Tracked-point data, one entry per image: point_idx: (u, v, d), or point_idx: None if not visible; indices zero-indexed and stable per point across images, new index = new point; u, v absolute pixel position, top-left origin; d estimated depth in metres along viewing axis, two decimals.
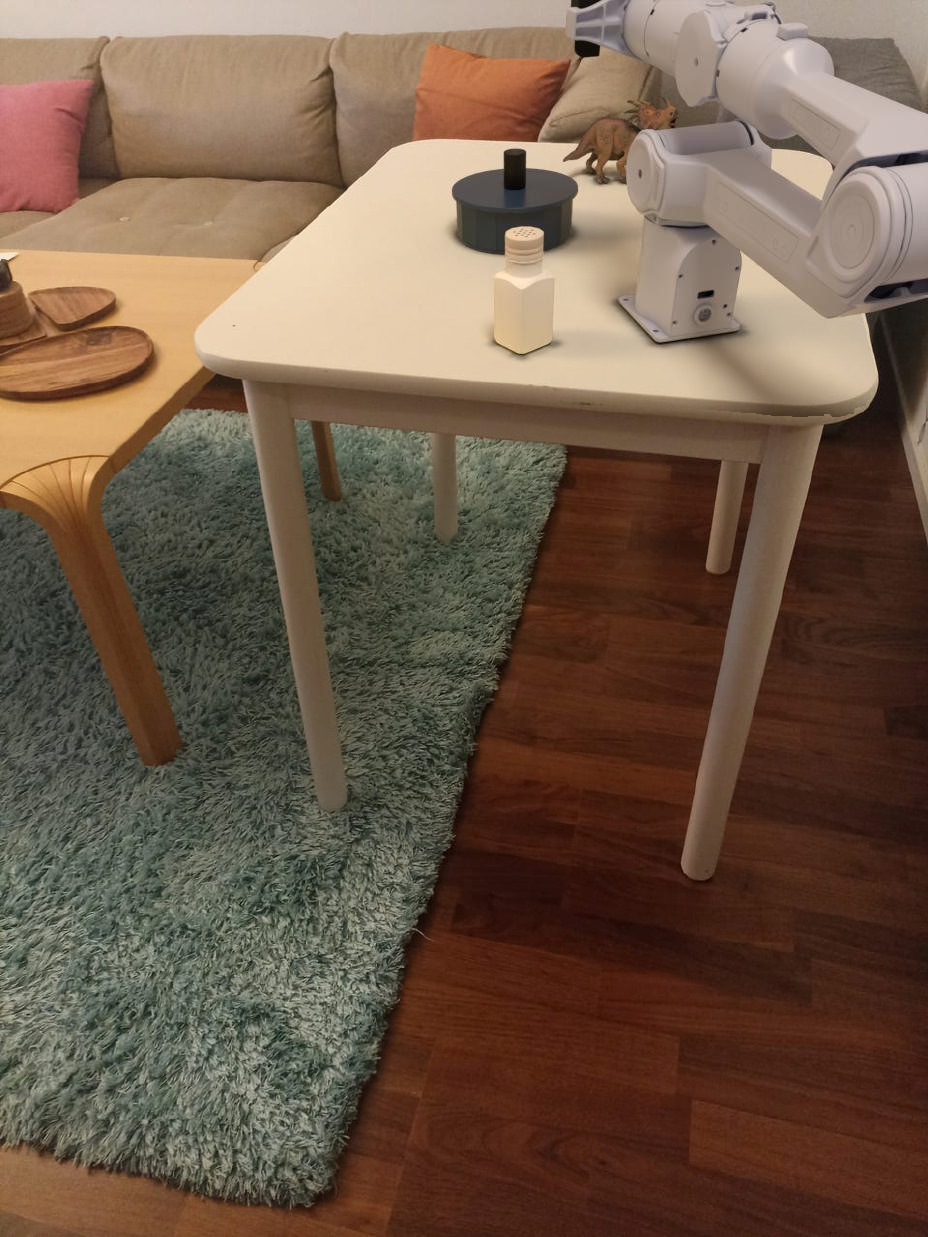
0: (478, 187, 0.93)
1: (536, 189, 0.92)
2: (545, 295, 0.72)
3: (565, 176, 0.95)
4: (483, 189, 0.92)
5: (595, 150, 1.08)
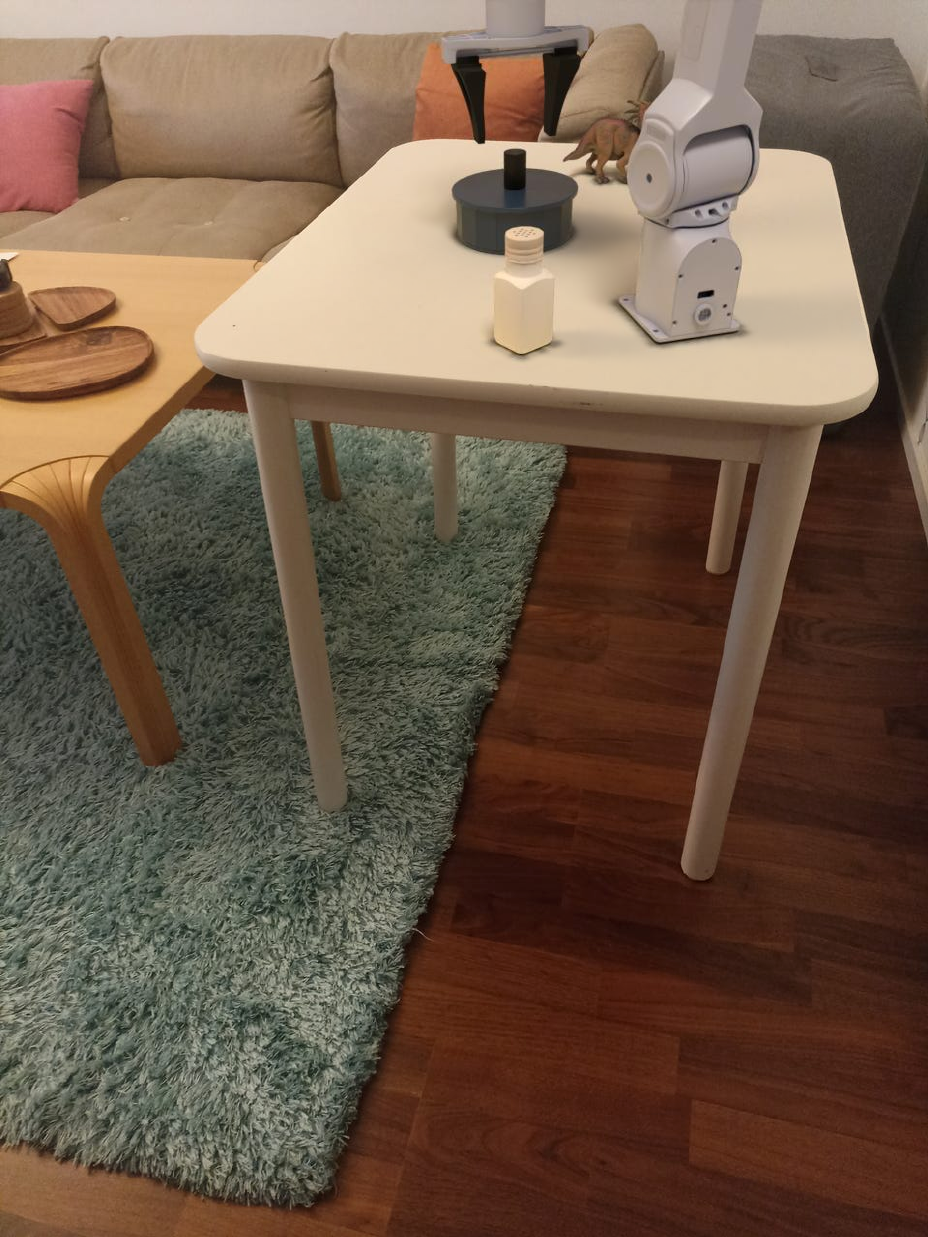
0: (478, 187, 0.93)
1: (536, 189, 0.92)
2: (545, 295, 0.72)
3: (565, 176, 0.95)
4: (483, 189, 0.92)
5: (595, 150, 1.08)
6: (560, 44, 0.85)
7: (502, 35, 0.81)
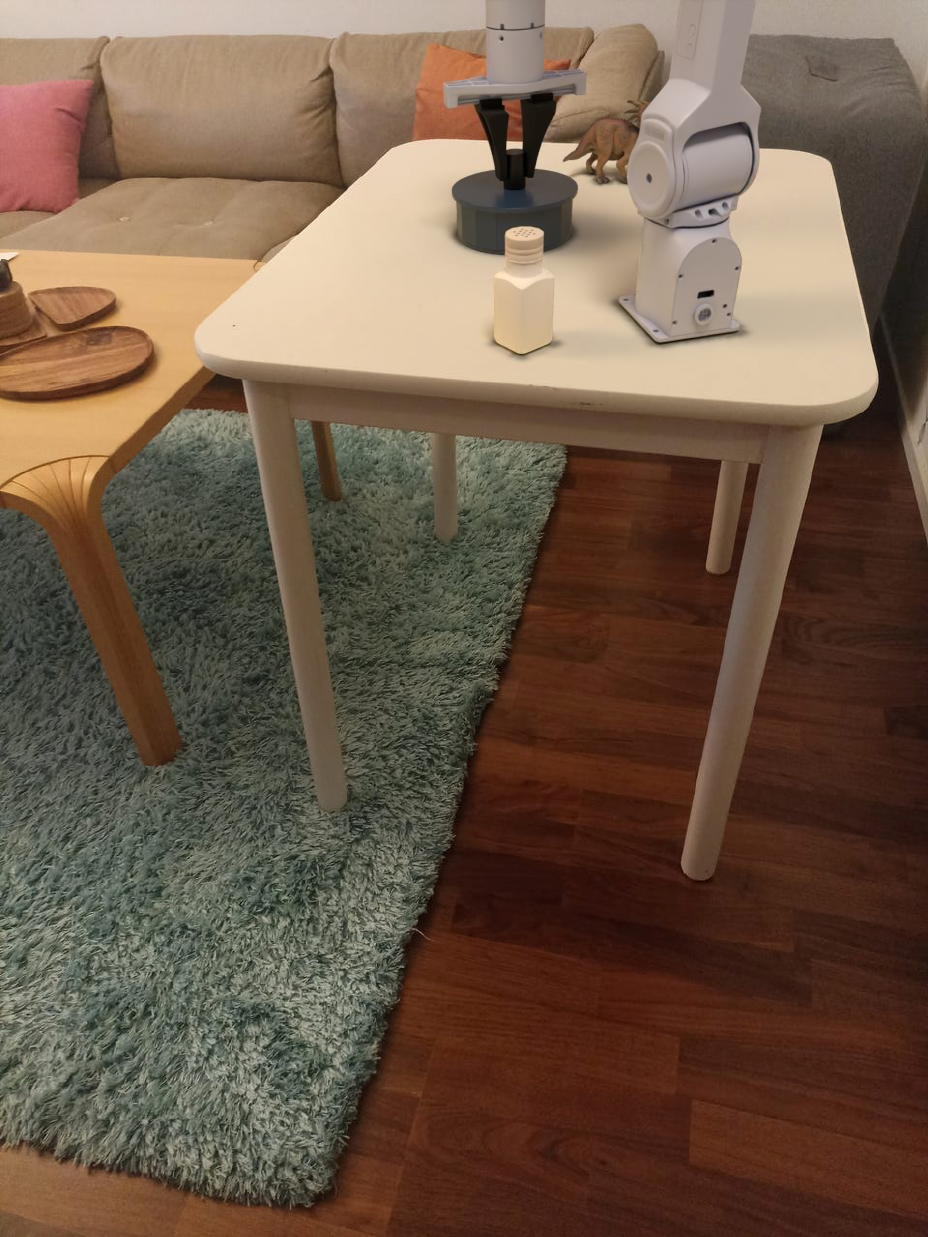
0: (478, 187, 0.93)
1: (536, 189, 0.92)
2: (545, 295, 0.72)
3: (565, 176, 0.95)
4: (483, 189, 0.92)
5: (595, 150, 1.08)
6: (559, 88, 0.87)
7: (502, 81, 0.84)
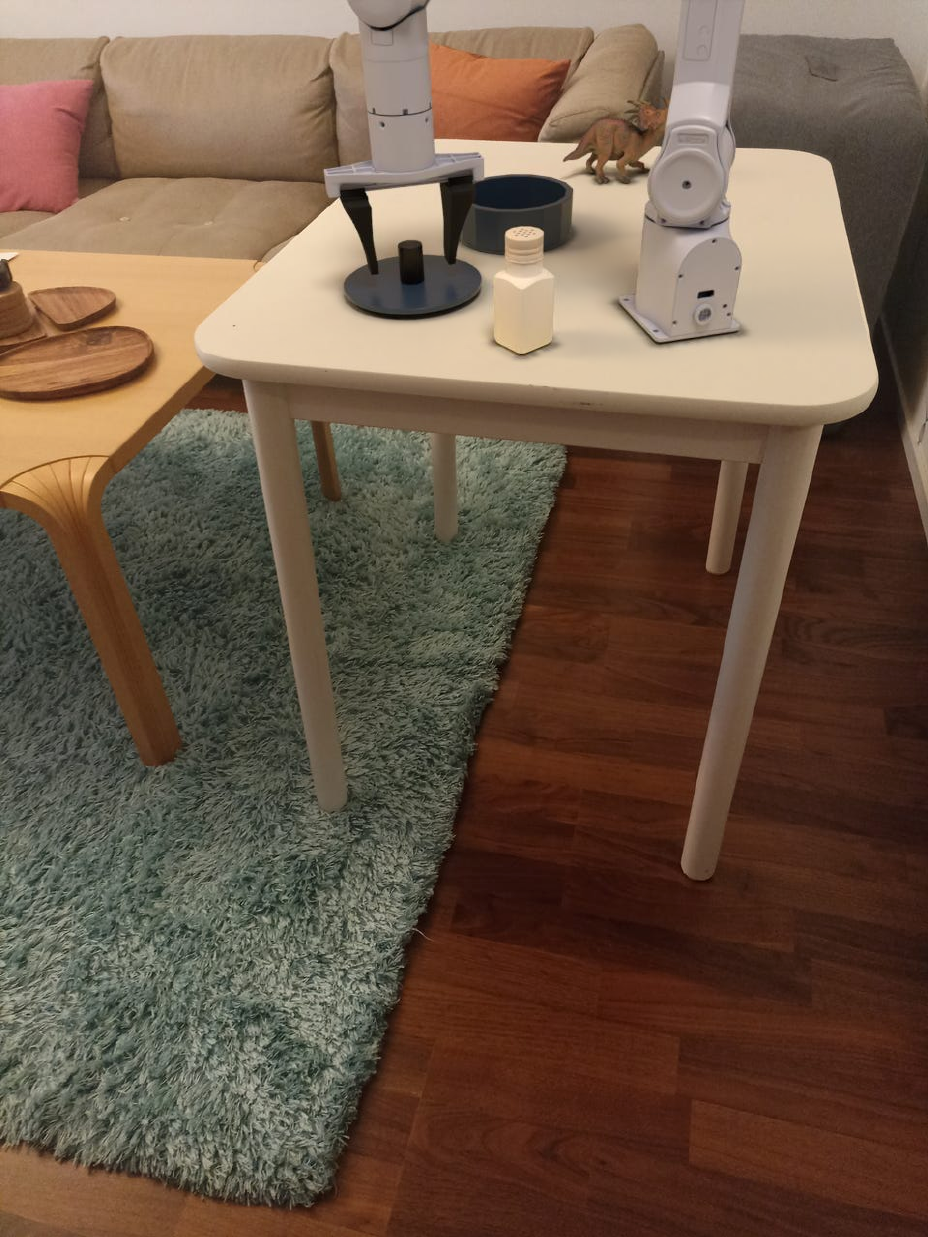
0: (373, 280, 0.85)
1: (435, 284, 0.84)
2: (545, 295, 0.72)
3: (470, 266, 0.87)
4: (377, 283, 0.84)
5: (595, 150, 1.08)
6: (454, 173, 0.79)
7: (387, 169, 0.75)
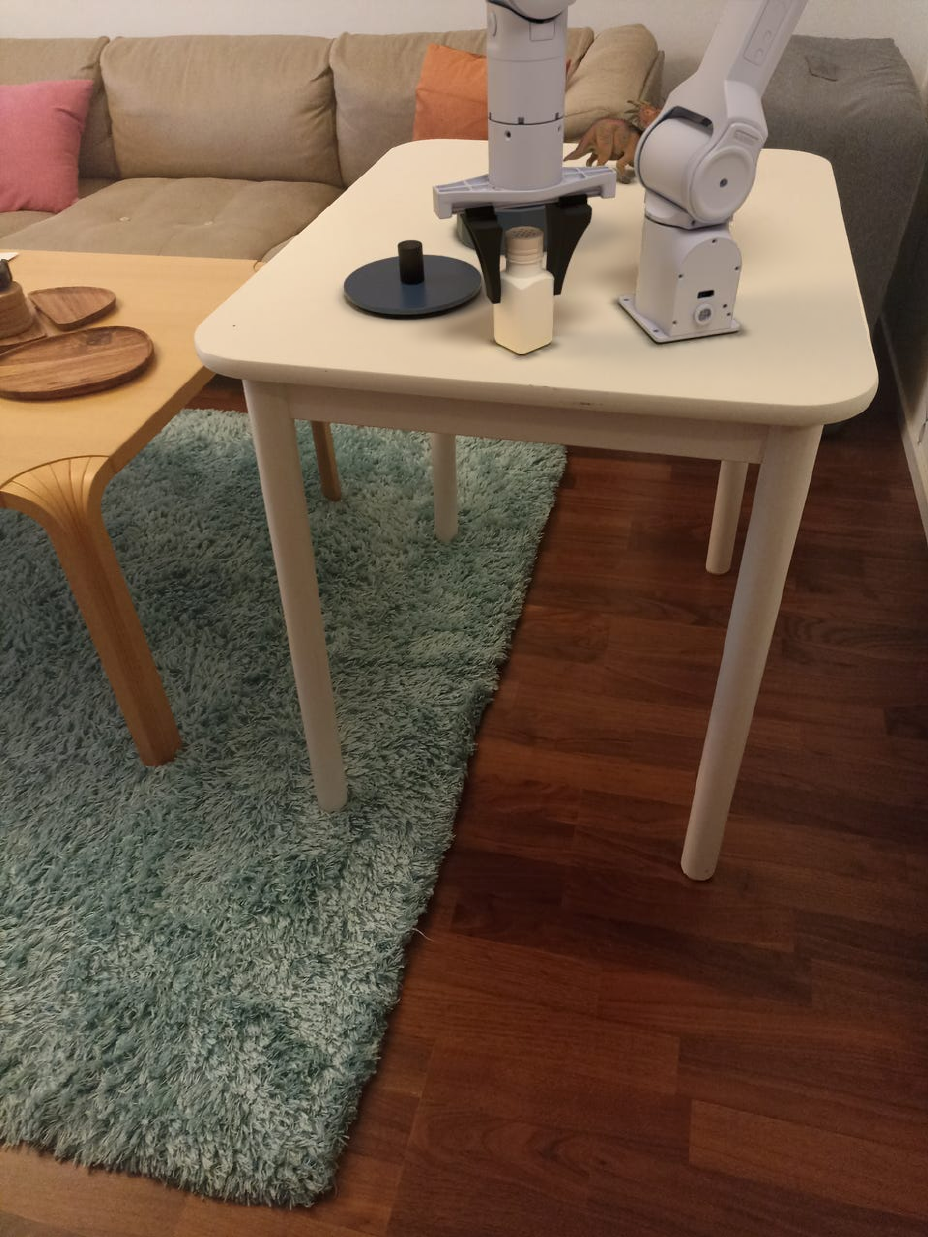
0: (373, 280, 0.85)
1: (435, 284, 0.84)
2: (545, 295, 0.72)
3: (470, 266, 0.87)
4: (377, 283, 0.84)
5: (595, 150, 1.08)
6: (581, 190, 0.68)
7: (509, 187, 0.65)
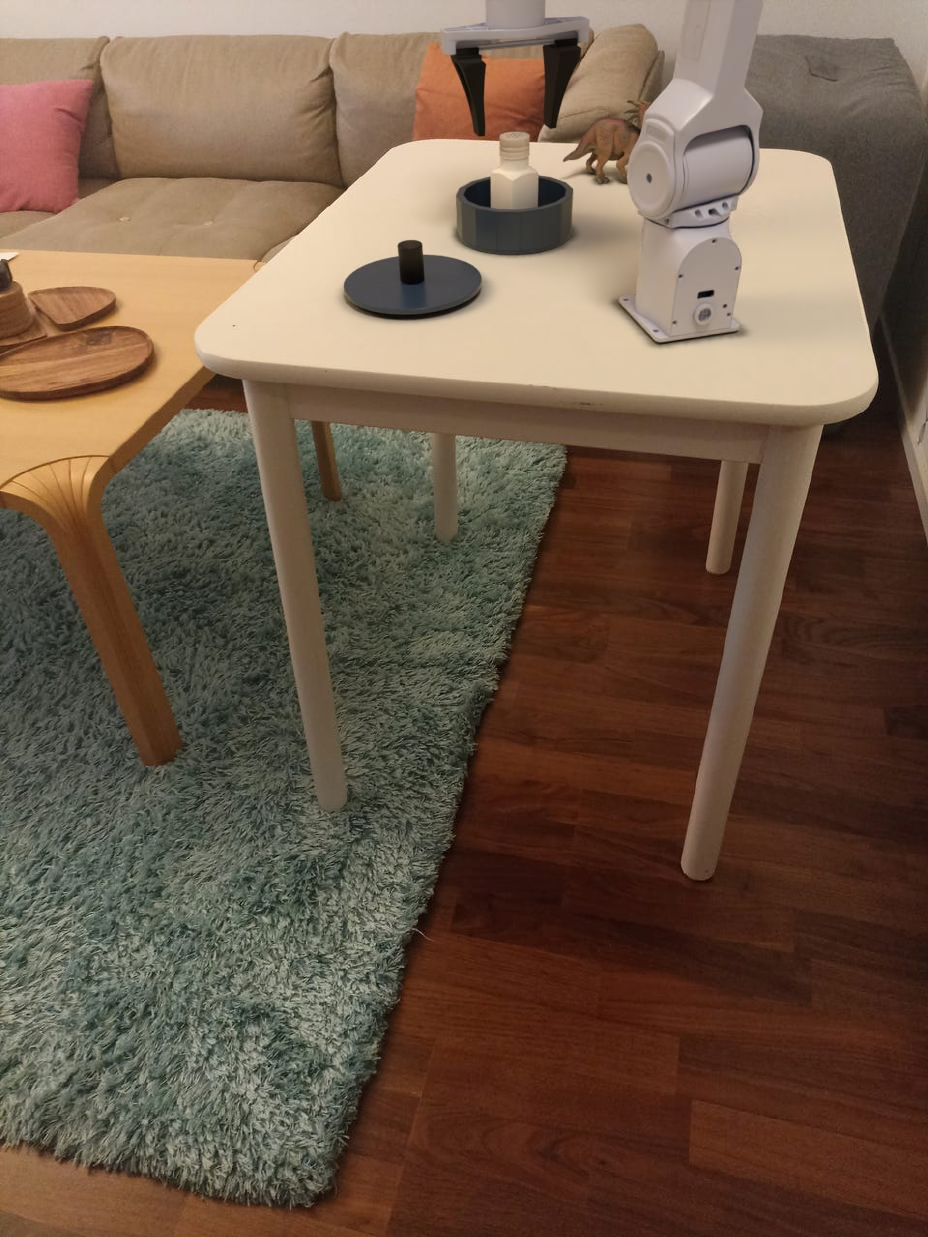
0: (373, 280, 0.85)
1: (435, 284, 0.84)
2: (531, 187, 0.92)
3: (470, 266, 0.87)
4: (377, 283, 0.84)
5: (595, 150, 1.08)
6: (560, 35, 0.84)
7: (502, 26, 0.81)
